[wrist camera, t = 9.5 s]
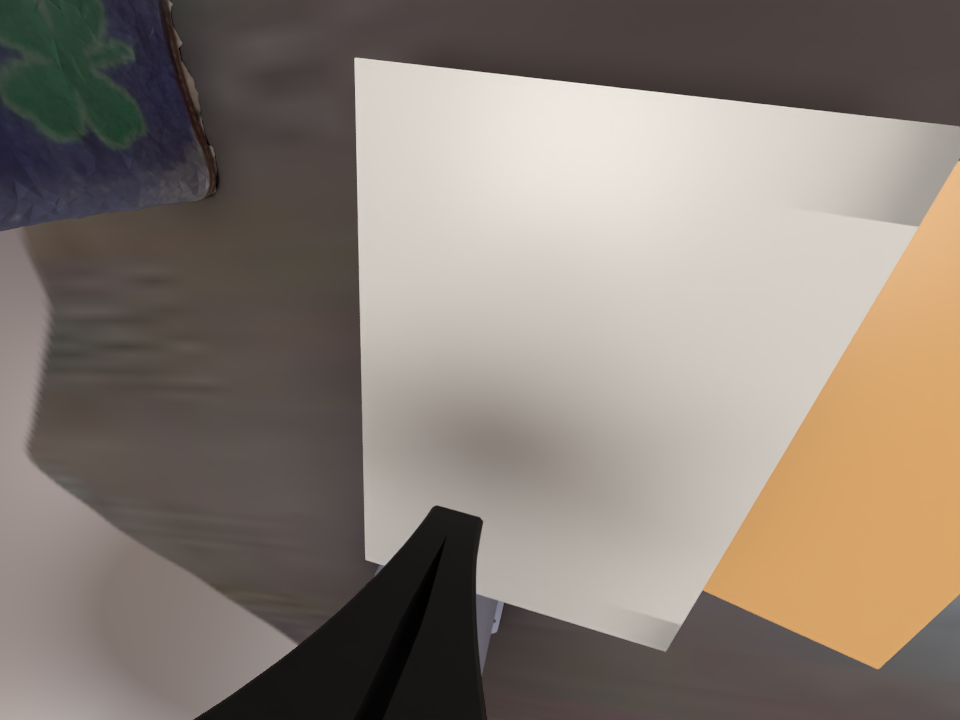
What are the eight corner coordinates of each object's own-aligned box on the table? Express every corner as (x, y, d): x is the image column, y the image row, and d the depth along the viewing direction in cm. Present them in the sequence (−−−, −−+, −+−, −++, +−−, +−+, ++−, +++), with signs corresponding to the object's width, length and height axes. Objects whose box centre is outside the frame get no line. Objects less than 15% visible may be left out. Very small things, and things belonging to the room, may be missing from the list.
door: (683, 565, 22) (871, 647, 19) (682, 581, 21) (878, 669, 18) (902, 155, 13) (1318, 205, 10) (916, 155, 12) (1372, 209, 9)
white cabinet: (652, 554, 23) (665, 651, 19) (405, 486, 25) (365, 559, 21) (853, 131, 13) (977, 128, 9) (422, 79, 15) (354, 57, 11)
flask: (228, 199, 19) (-110, 255, 10) (175, 198, 20) (-189, 250, 11) (154, -79, 15) (-541, -419, 6) (90, -69, 16) (-629, -361, 7)
